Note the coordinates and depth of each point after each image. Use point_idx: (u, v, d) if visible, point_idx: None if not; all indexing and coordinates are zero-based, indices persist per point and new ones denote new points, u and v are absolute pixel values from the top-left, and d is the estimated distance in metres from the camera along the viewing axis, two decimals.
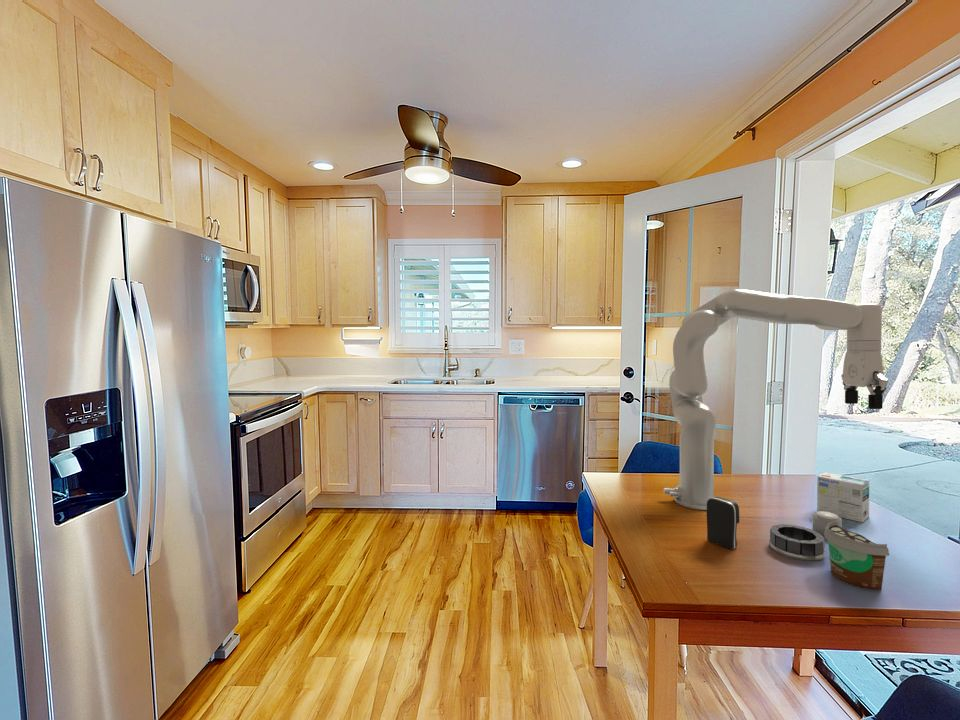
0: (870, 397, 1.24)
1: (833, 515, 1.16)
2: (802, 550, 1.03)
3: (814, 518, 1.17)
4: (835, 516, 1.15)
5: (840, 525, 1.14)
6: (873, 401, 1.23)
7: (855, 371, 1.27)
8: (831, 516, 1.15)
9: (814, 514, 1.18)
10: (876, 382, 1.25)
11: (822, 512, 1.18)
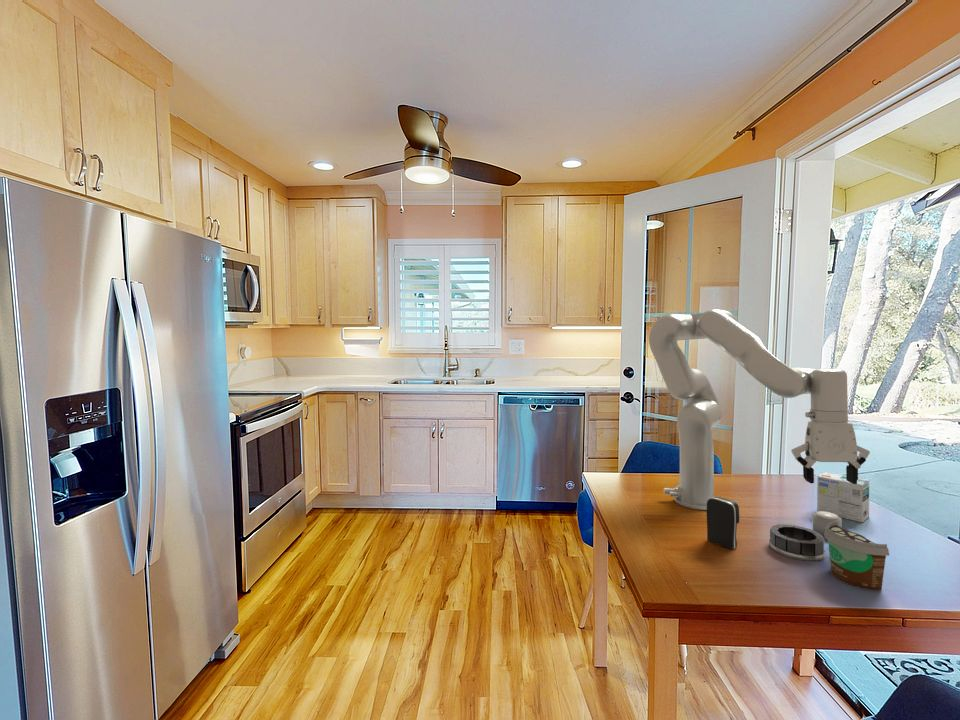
0: None
1: (833, 515, 1.16)
2: (802, 550, 1.03)
3: (814, 518, 1.17)
4: (835, 516, 1.15)
5: (840, 525, 1.14)
6: None
7: (841, 445, 1.12)
8: (831, 516, 1.15)
9: (814, 514, 1.18)
10: None
11: (822, 512, 1.18)
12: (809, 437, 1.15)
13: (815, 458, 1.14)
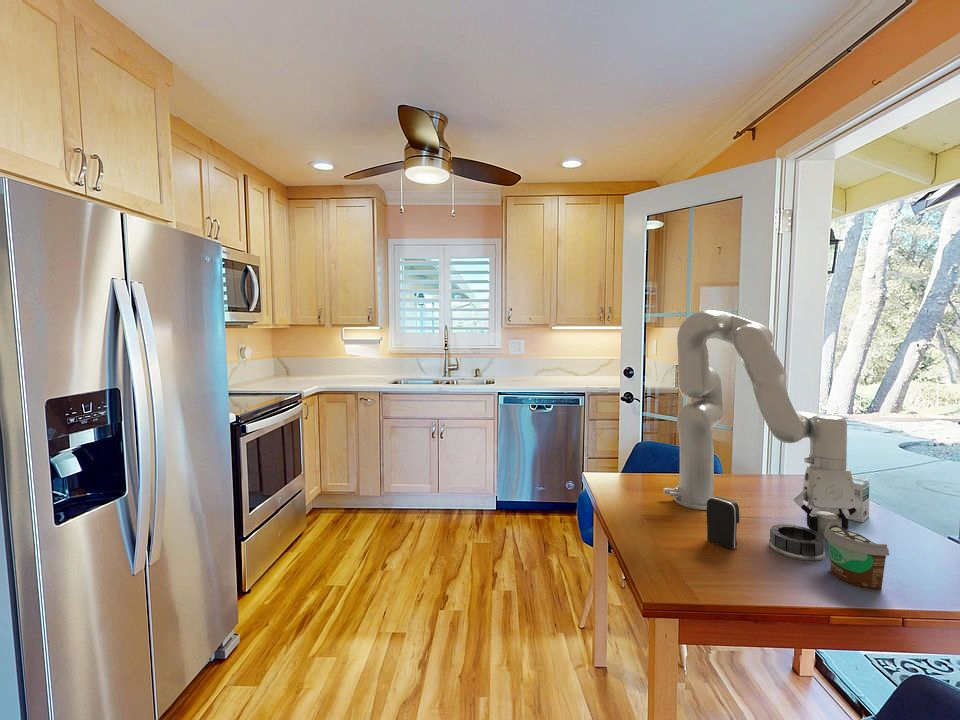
0: None
1: (833, 515, 1.16)
2: (802, 550, 1.03)
3: None
4: (835, 516, 1.15)
5: (840, 525, 1.14)
6: None
7: (839, 492, 1.13)
8: (831, 516, 1.15)
9: None
10: None
11: (822, 512, 1.18)
12: (807, 482, 1.16)
13: (813, 504, 1.14)
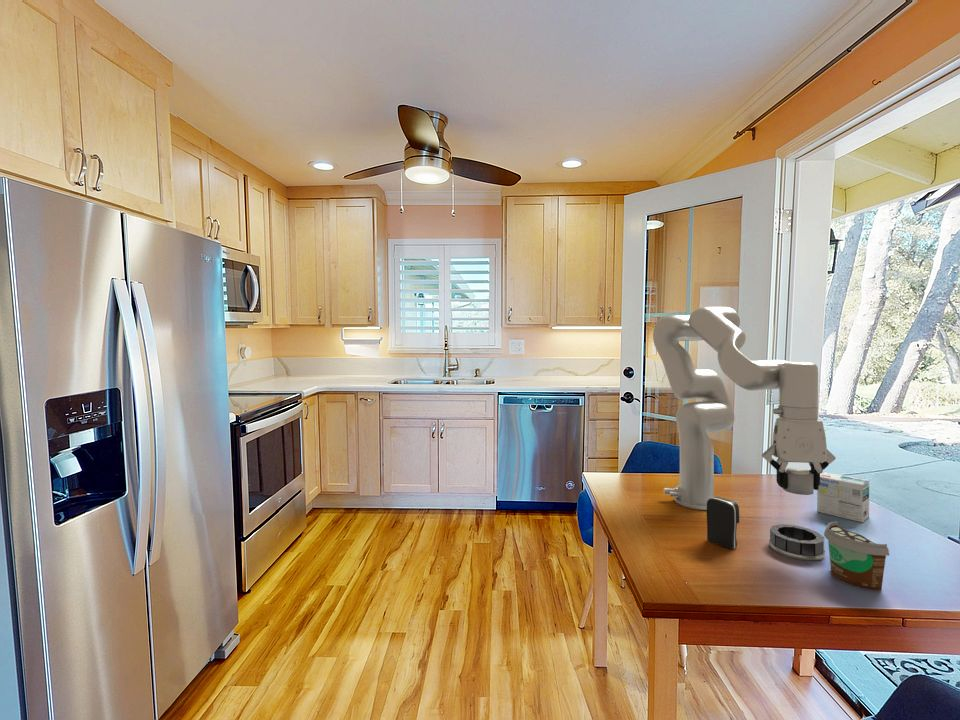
0: None
1: (804, 470, 1.06)
2: (802, 550, 1.03)
3: None
4: (806, 471, 1.06)
5: (812, 480, 1.05)
6: None
7: (809, 444, 1.04)
8: (802, 471, 1.06)
9: None
10: None
11: (793, 468, 1.08)
12: (776, 435, 1.07)
13: (782, 458, 1.05)
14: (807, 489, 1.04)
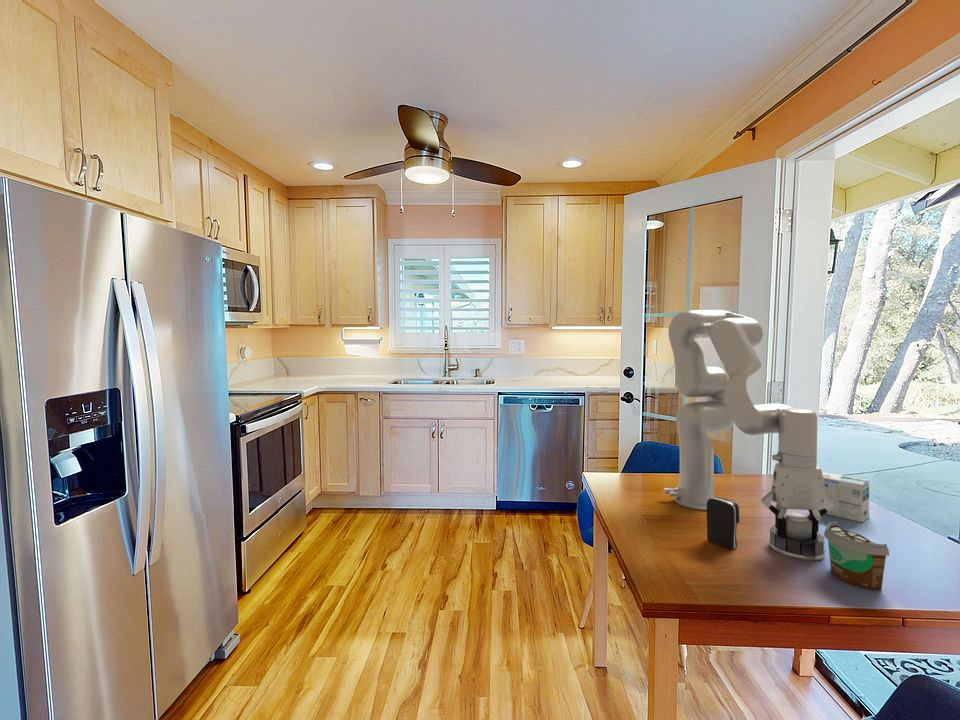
0: None
1: (803, 517, 1.07)
2: (802, 550, 1.03)
3: None
4: (805, 518, 1.06)
5: (810, 527, 1.05)
6: None
7: (808, 492, 1.04)
8: (801, 518, 1.06)
9: None
10: None
11: (792, 514, 1.09)
12: (775, 481, 1.07)
13: (780, 505, 1.06)
14: (806, 536, 1.05)
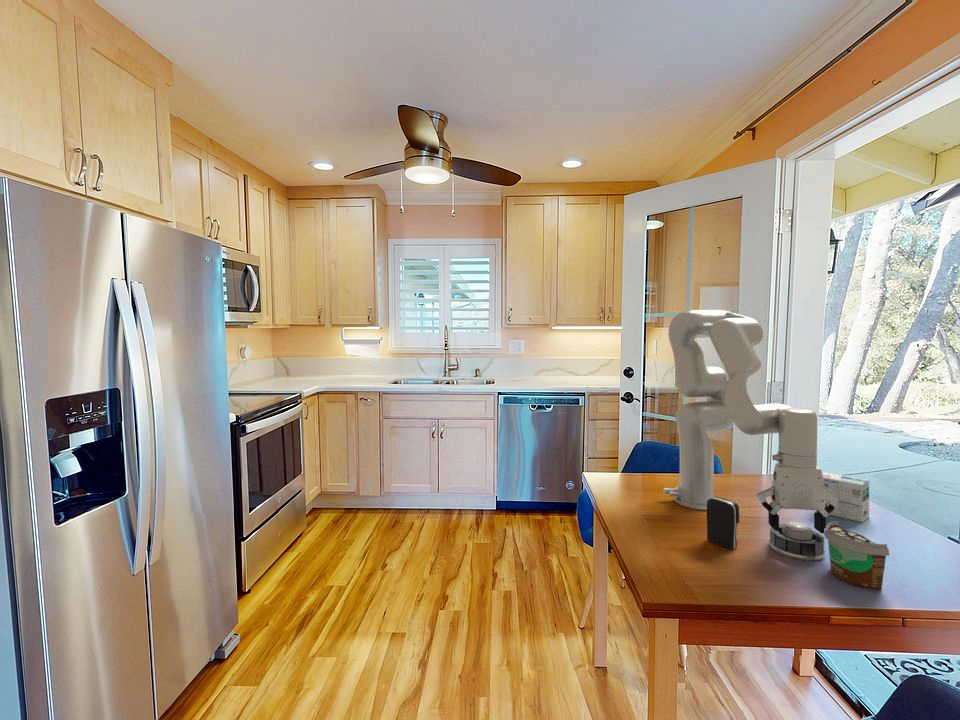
0: None
1: (803, 526, 1.07)
2: (802, 550, 1.03)
3: (783, 529, 1.08)
4: (805, 527, 1.06)
5: (810, 537, 1.05)
6: (823, 524, 1.06)
7: (808, 492, 1.04)
8: (801, 527, 1.06)
9: (784, 525, 1.09)
10: None
11: (792, 523, 1.09)
12: (775, 481, 1.07)
13: (780, 505, 1.06)
14: None
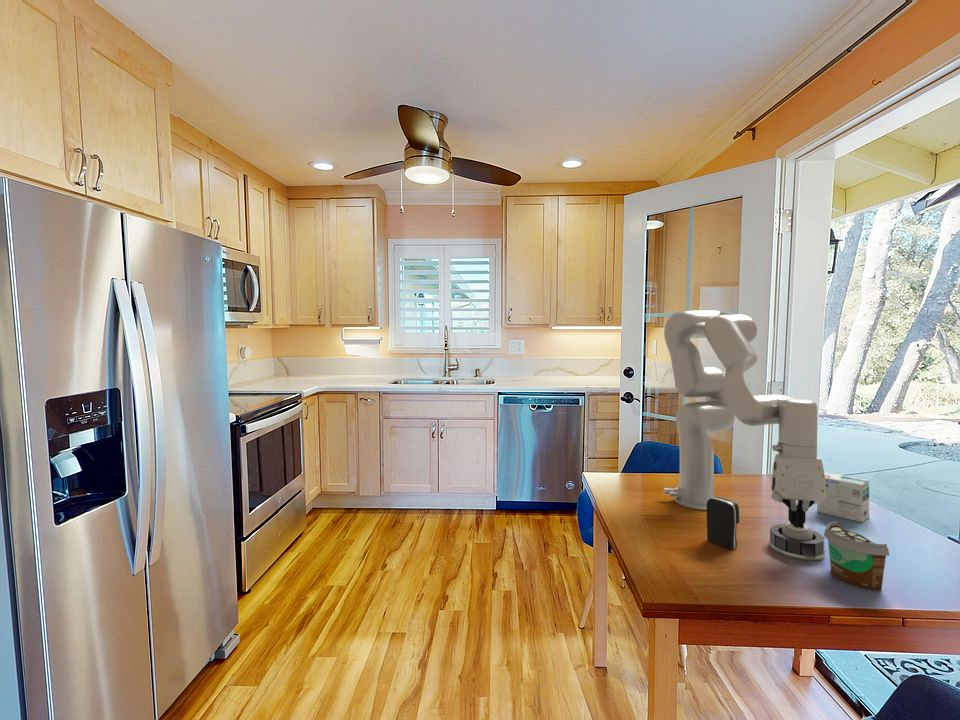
0: None
1: None
2: (802, 550, 1.03)
3: (783, 529, 1.08)
4: (805, 527, 1.06)
5: (811, 537, 1.05)
6: None
7: (808, 482, 1.04)
8: None
9: (784, 525, 1.09)
10: None
11: None
12: (775, 472, 1.07)
13: (781, 495, 1.06)
14: None
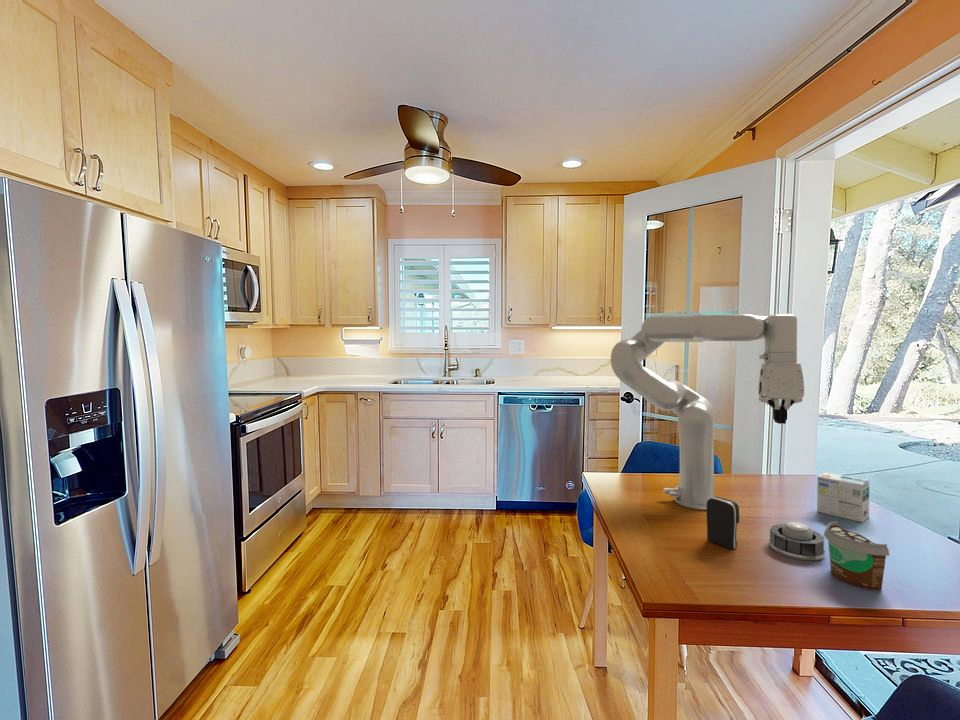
0: None
1: (803, 526, 1.07)
2: (802, 550, 1.03)
3: (783, 529, 1.08)
4: (805, 527, 1.06)
5: (811, 537, 1.05)
6: None
7: (789, 383, 1.23)
8: (801, 527, 1.06)
9: (784, 525, 1.09)
10: None
11: (792, 523, 1.09)
12: (762, 377, 1.26)
13: (766, 395, 1.24)
14: None
